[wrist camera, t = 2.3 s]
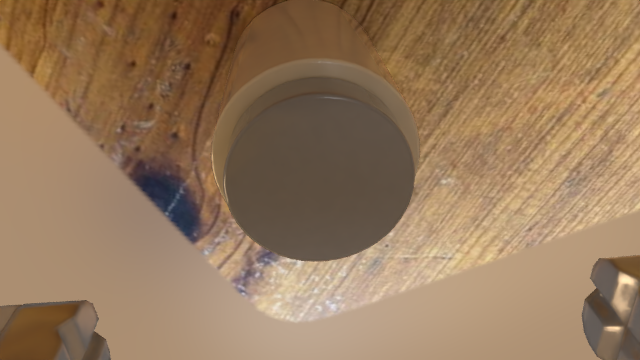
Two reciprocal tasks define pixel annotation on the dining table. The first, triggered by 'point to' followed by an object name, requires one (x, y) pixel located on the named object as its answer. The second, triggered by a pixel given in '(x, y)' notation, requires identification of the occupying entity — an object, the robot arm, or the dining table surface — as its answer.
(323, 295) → the dining table surface
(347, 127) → the salt shaker
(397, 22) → the dining table surface
